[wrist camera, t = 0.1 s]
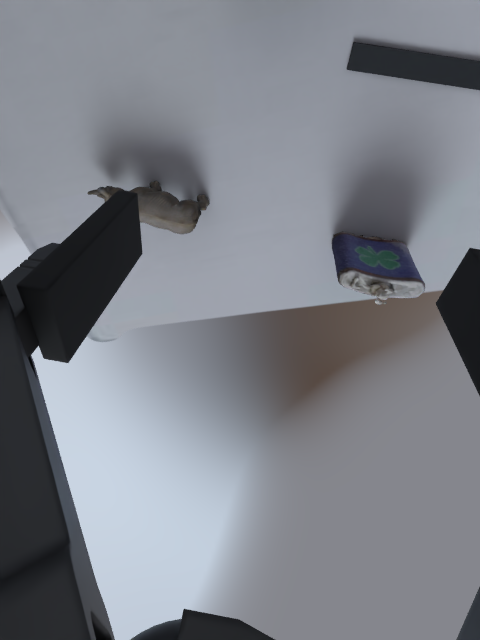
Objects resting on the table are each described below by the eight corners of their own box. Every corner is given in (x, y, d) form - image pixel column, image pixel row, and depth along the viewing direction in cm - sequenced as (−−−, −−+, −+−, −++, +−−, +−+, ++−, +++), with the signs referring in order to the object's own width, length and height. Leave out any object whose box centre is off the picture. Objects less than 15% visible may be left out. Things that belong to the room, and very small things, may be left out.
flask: (410, 241, 43) (435, 293, 34) (400, 262, 44) (421, 316, 36) (334, 228, 43) (341, 277, 35) (327, 250, 45) (333, 301, 37)
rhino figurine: (97, 164, 41) (72, 181, 37) (211, 191, 42) (200, 212, 37) (100, 197, 44) (77, 218, 40) (207, 223, 44) (196, 246, 40)
